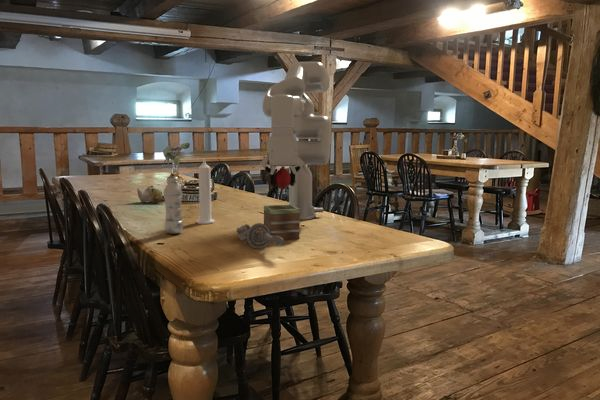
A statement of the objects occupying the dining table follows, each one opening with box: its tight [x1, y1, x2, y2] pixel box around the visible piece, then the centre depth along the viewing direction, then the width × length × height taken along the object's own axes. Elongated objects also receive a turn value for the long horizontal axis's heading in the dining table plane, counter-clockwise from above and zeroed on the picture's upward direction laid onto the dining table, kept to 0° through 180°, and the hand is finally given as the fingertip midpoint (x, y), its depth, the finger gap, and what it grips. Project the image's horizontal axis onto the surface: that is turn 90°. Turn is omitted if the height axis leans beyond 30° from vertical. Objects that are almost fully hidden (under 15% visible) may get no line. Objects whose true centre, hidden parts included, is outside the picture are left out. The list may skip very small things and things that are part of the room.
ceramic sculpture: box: [136, 185, 165, 204], centre depth 242 cm, size 11×9×15 cm
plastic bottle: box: [162, 176, 184, 235], centre depth 174 cm, size 6×7×20 cm
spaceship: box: [236, 222, 286, 249], centre depth 155 cm, size 8×35×8 cm
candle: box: [196, 158, 216, 225], centre depth 193 cm, size 7×7×25 cm
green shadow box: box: [263, 204, 301, 241], centre depth 170 cm, size 10×11×10 cm
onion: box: [274, 166, 291, 191], centre depth 169 cm, size 6×6×8 cm
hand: (282, 185), depth 169 cm, fingers closed on onion, 5 cm apart
